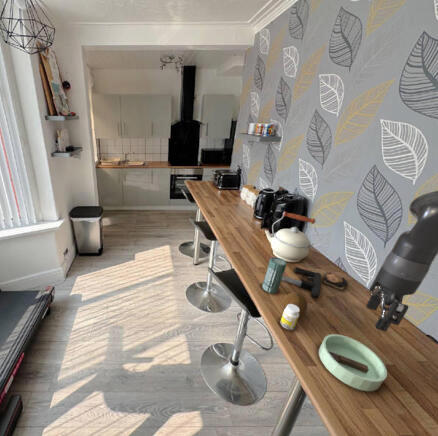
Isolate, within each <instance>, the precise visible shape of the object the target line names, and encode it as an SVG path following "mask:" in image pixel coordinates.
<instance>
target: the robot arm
mask: <svg viewBox="0 0 438 436" xmlns="http://www.w3.org/2000/svg"><path fill="white" fill-rule="evenodd" d="M408 209H409V213H410V214H411V215H412V217H414V218H415V219H416V223H415V224H414V226H413V227H412V228H411V229H410V230H405V231H403V232H402V233H401V234H400V235H399V236H398V238H397V239H396V242H395V243H394V245H393V247H392V249H391V250H390V252H389V253H388V255H387V256H386V257H385V259H384V261H383V263H382V265H381V267H380V268H379V270H378V272H377V273H376V275H375V278H374V280H373V282H372V283H371V285H370V287H369V292H370V294H369V296H370V297H369V299H368V301H367V303H366V305H365V306H366V308H367V309H369V310H372V311H377V310H378V308H379V309H380V310H381V312H380V316H379V317H378V319H377V321H376V322H375V324H374V327H375V329H376V330H379V331H382V332H387V331H388V328H390V326H391V324H392V325H394V326H399V325H400V324H401V322H402V321H403V318H404V317H405V315H406V313H407V312H408V310H409V305H408V304H404V303H403V300H404V297H405V296H410V295H415V294H416V293H417V291H418V289H419V287H420V286H421V284H422V283H423V281H424V280H425V278H426V276H427V275H428V273H429V272H430V269H431V266H432V264H433V262H434V261H435V260H436V258H437V256H438V190H435V191H430V192H427V193H423V194H421V195H420V196H417V197H415V199H413V200H412V201H411V202H410V204H409V208H408Z"/></svg>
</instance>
